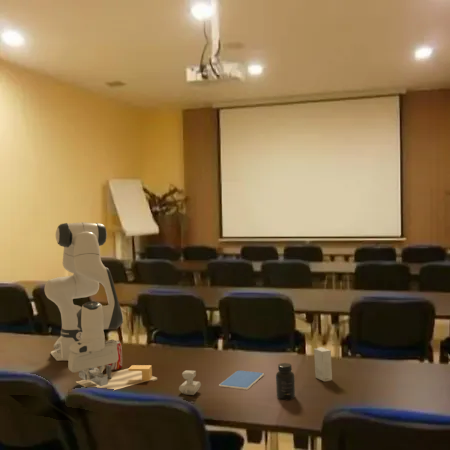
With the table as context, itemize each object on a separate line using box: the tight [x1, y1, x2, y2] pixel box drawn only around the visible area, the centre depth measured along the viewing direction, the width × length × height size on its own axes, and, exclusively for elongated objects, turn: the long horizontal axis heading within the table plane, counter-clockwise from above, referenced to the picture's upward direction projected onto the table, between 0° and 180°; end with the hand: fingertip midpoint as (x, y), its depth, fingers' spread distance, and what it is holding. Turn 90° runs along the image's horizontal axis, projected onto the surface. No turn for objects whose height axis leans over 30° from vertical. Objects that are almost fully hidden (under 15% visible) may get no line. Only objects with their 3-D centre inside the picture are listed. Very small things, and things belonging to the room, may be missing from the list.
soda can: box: [105, 340, 123, 371], centre depth 240 cm, size 7×7×12 cm
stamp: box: [178, 370, 202, 396], centre depth 207 cm, size 9×7×8 cm
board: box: [75, 367, 158, 391], centre depth 223 cm, size 20×26×1 cm
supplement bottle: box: [275, 362, 296, 401], centre depth 200 cm, size 7×7×12 cm
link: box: [78, 367, 108, 386], centre depth 216 cm, size 16×6×3 cm, turn 40°
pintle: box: [105, 365, 112, 379], centre depth 225 cm, size 2×2×6 cm
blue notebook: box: [218, 370, 265, 391], centre depth 220 cm, size 19×13×1 cm, turn 155°
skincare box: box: [313, 346, 333, 382], centre depth 218 cm, size 6×4×12 cm
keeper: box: [127, 364, 153, 381], centre depth 224 cm, size 8×5×6 cm, turn 85°
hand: (94, 377), depth 216 cm, fingers closed on link, 3 cm apart
